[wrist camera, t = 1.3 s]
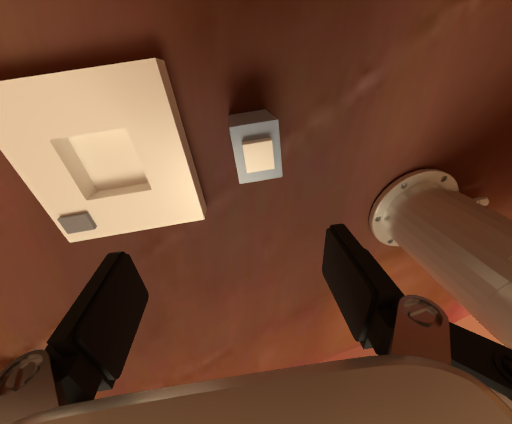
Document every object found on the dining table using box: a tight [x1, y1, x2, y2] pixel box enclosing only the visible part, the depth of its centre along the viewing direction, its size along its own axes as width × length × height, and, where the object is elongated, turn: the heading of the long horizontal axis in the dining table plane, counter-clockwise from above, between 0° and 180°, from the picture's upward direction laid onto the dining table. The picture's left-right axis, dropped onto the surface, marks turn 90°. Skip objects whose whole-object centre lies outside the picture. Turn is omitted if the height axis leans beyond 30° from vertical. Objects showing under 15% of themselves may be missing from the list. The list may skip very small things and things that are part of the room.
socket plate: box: [0, 58, 206, 242], centre depth 23 cm, size 16×16×4 cm
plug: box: [229, 109, 282, 184], centre depth 22 cm, size 4×5×8 cm
